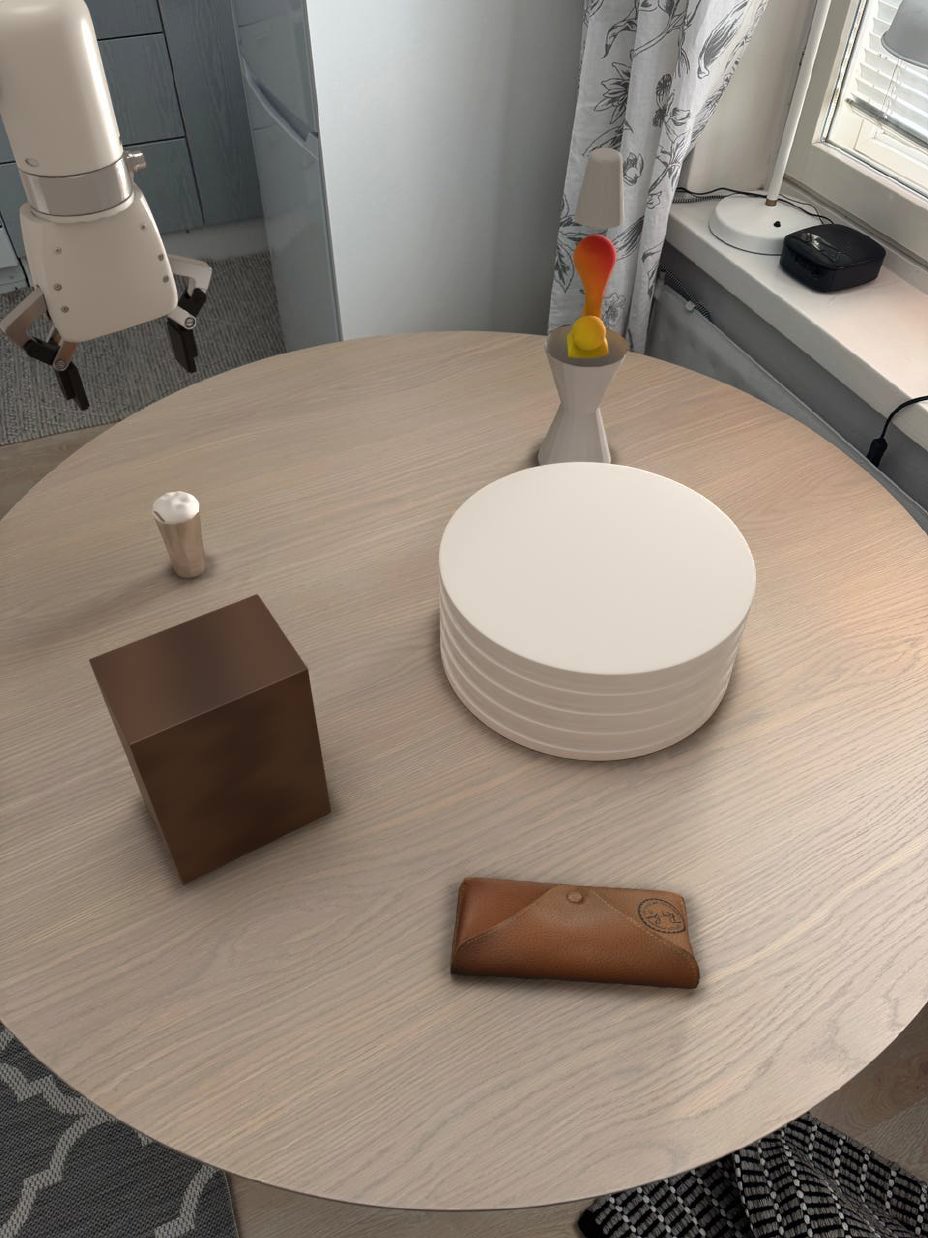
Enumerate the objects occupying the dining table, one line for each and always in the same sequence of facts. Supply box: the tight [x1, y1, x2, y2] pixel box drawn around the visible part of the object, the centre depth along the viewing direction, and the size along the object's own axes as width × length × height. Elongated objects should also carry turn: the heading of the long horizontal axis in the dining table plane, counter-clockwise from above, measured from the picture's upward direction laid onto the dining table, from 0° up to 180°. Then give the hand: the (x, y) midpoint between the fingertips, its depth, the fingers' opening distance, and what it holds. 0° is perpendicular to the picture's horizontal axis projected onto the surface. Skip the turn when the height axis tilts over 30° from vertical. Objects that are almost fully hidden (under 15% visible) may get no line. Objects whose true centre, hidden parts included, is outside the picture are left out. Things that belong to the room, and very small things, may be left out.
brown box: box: [88, 593, 332, 885], centre depth 77 cm, size 13×10×18 cm
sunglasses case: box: [449, 876, 701, 990], centre depth 74 cm, size 18×7×7 cm
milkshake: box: [151, 490, 207, 579], centre depth 100 cm, size 5×5×10 cm
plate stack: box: [438, 462, 757, 762], centre depth 93 cm, size 28×28×12 cm
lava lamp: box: [537, 147, 629, 466], centre depth 105 cm, size 9×9×35 cm
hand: (134, 383), depth 86 cm, fingers open, 9 cm apart
